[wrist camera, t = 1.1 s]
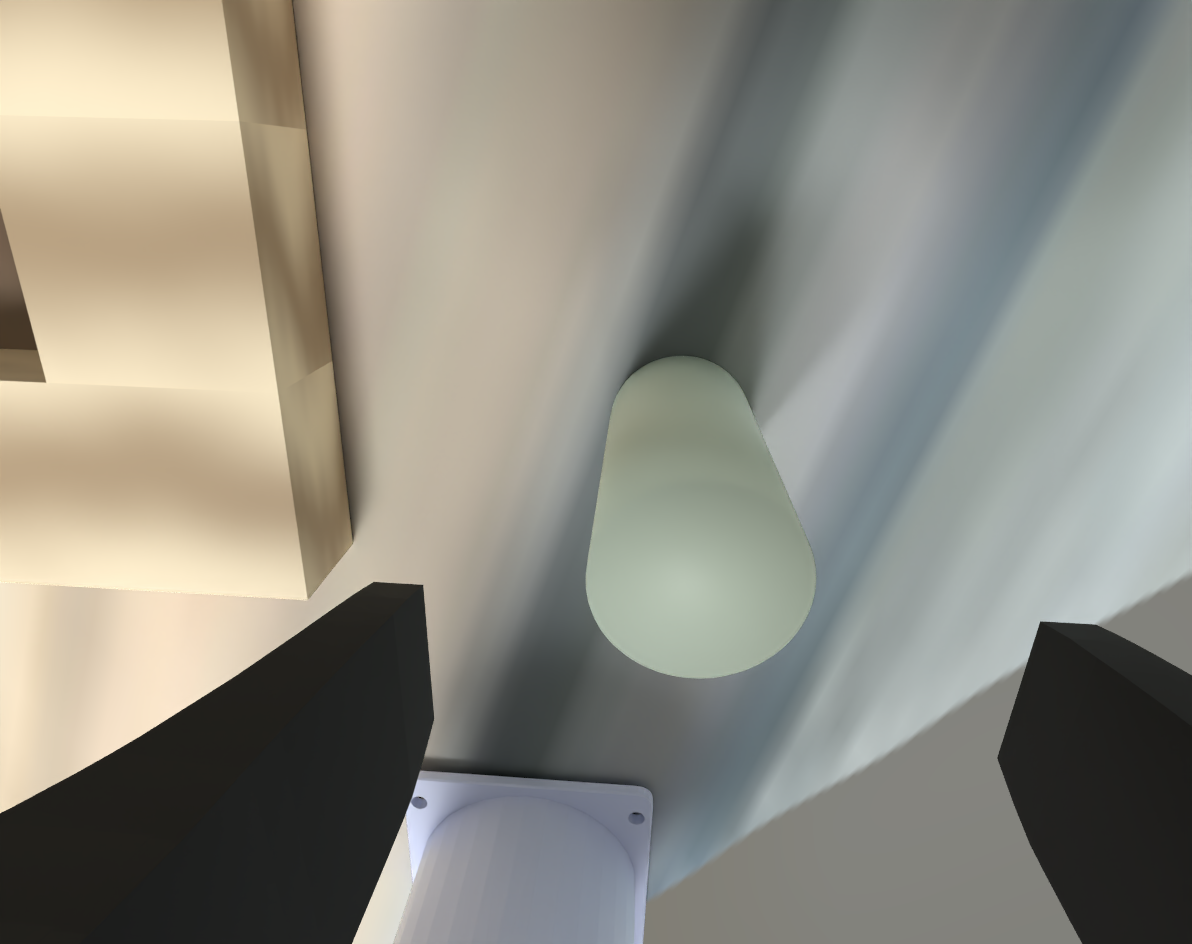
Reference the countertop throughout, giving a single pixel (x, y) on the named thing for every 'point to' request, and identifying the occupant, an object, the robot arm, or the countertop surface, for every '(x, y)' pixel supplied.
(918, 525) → the countertop surface
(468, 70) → the countertop surface
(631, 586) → the pin
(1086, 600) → the countertop surface
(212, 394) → the pocket block
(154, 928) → the robot arm
